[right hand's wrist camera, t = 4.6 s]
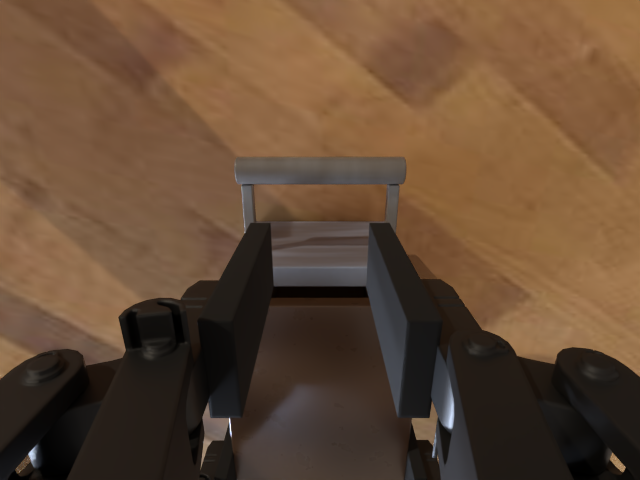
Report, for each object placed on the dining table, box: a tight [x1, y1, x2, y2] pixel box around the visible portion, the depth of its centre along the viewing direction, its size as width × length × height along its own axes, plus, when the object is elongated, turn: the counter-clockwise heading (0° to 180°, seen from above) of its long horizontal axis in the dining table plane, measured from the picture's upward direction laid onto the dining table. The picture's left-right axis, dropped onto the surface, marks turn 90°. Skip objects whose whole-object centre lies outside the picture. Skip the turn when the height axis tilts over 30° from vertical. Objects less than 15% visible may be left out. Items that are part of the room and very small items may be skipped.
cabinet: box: [229, 298, 412, 480], centre depth 27 cm, size 17×11×10 cm, turn 0°
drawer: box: [234, 157, 406, 298], centre depth 25 cm, size 21×10×8 cm, turn 0°
